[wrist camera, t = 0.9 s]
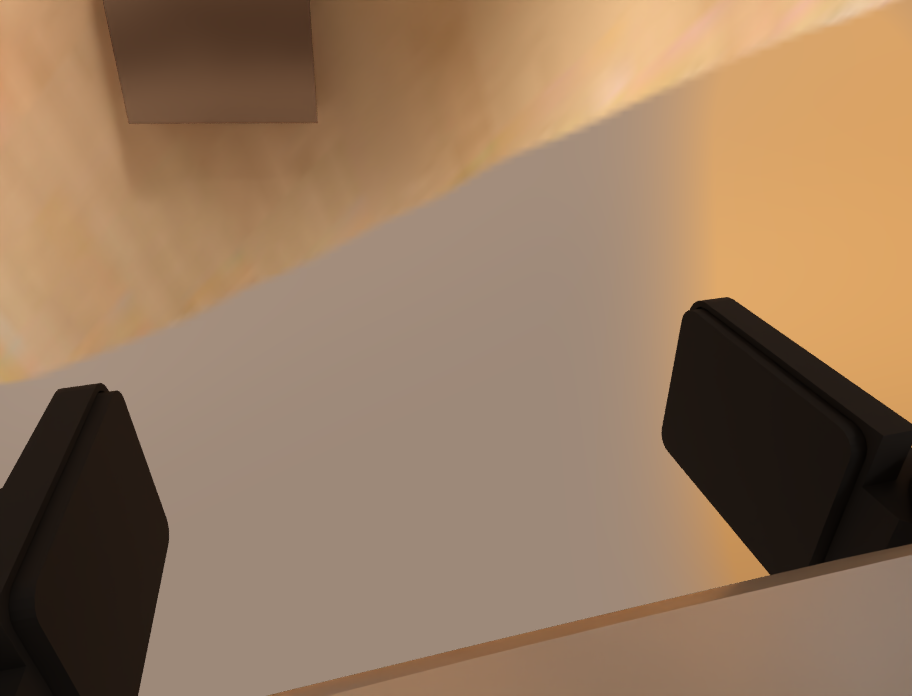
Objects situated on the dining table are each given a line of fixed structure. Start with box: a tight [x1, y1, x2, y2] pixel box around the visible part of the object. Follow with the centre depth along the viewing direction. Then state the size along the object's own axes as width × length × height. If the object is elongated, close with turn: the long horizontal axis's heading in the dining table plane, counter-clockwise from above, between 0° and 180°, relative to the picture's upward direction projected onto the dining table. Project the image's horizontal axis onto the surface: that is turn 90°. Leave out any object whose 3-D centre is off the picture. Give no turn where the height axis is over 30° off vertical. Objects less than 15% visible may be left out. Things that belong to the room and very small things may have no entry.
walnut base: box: [103, 0, 318, 124], centre depth 28 cm, size 8×8×4 cm
